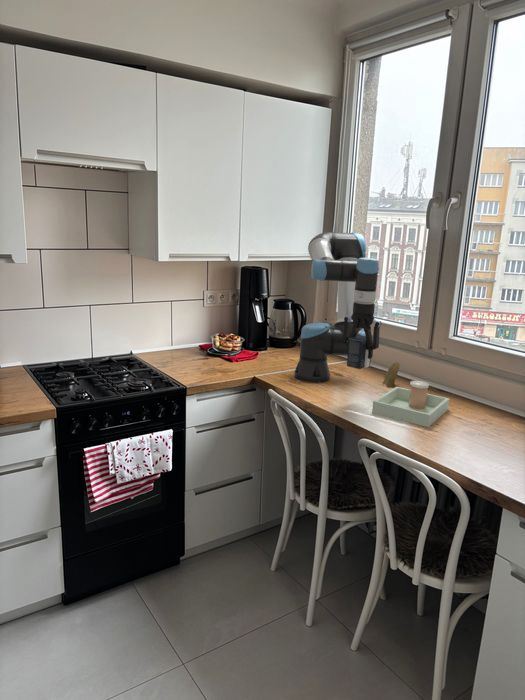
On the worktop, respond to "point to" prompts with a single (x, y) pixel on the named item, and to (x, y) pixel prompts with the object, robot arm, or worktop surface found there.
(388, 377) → the rock
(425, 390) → the jar
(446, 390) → the worktop surface
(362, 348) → the box
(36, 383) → the worktop surface
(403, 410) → the tray
